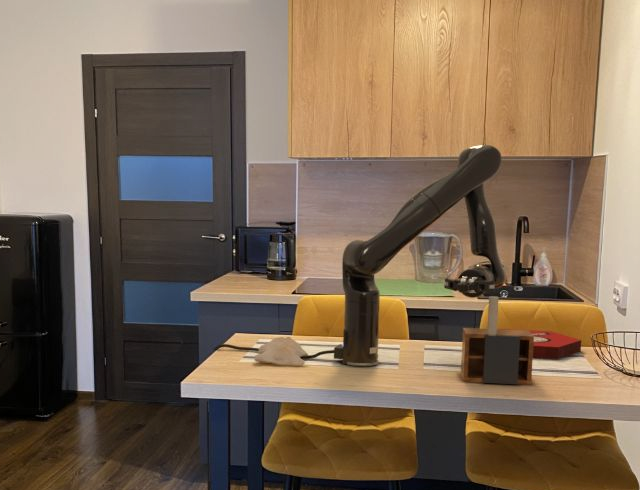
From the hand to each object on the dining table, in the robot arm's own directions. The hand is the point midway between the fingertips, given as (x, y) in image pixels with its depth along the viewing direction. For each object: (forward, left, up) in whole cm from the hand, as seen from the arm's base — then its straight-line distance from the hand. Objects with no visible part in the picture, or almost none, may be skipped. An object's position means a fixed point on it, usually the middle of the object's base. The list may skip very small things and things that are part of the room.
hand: (462, 288), depth 177 cm
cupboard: (+9, +5, -23) cm, 26 cm away
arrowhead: (-47, +23, -23) cm, 57 cm away
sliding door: (+10, 0, -23) cm, 25 cm away
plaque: (+23, +46, -23) cm, 57 cm away
